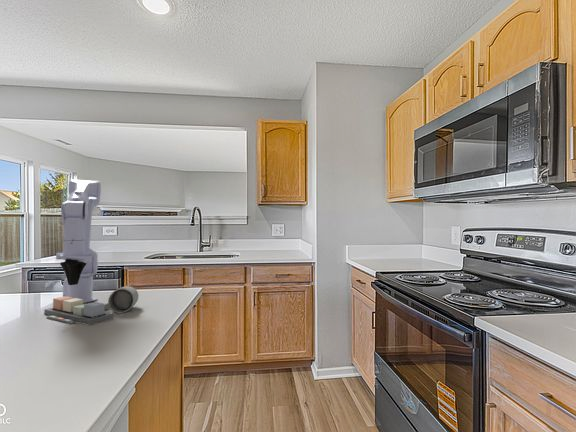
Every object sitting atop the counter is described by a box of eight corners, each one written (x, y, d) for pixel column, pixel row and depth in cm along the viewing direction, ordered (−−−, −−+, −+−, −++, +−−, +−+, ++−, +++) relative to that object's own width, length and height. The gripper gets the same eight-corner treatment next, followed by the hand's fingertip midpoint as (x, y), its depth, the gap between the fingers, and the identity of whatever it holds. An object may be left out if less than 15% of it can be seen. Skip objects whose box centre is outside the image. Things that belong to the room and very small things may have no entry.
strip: (46, 318, 100) (46, 315, 100) (50, 317, 101) (50, 314, 101) (71, 324, 95) (71, 321, 95) (74, 323, 95) (75, 320, 95)
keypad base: (44, 314, 104) (44, 309, 104) (67, 308, 110) (67, 304, 110) (90, 325, 94) (90, 320, 94) (112, 318, 100) (113, 313, 100)
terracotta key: (53, 308, 105) (53, 298, 105) (65, 305, 108) (65, 296, 108) (60, 309, 103) (60, 300, 103) (73, 307, 106) (73, 297, 106)
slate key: (83, 315, 98) (83, 304, 98) (96, 312, 101) (96, 302, 101) (92, 317, 96) (92, 306, 96) (104, 313, 100) (104, 303, 100)
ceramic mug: (139, 306, 115) (139, 283, 115) (133, 312, 107) (133, 288, 107) (105, 307, 113) (105, 284, 113) (97, 314, 105) (97, 289, 105)
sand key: (62, 310, 102) (63, 300, 102) (75, 307, 106) (75, 298, 106) (70, 312, 101) (70, 302, 101) (83, 309, 104) (83, 299, 104)
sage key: (72, 316, 100) (73, 306, 100) (85, 313, 104) (85, 303, 104) (80, 318, 99) (81, 308, 99) (93, 315, 102) (93, 305, 102)
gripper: (46, 239, 103) (45, 284, 103) (76, 242, 97) (75, 289, 97) (69, 238, 110) (68, 280, 110) (99, 240, 103) (98, 285, 103)
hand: (73, 284), depth 104 cm, fingers closed
